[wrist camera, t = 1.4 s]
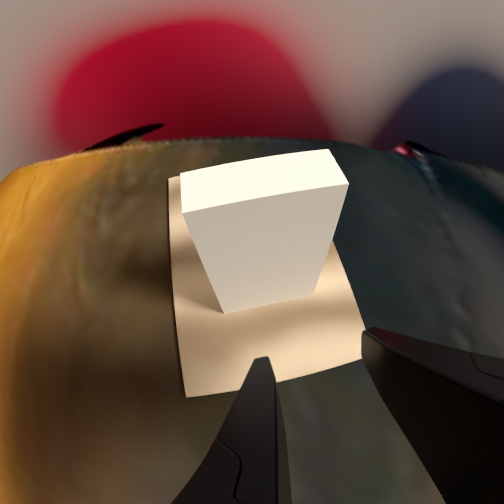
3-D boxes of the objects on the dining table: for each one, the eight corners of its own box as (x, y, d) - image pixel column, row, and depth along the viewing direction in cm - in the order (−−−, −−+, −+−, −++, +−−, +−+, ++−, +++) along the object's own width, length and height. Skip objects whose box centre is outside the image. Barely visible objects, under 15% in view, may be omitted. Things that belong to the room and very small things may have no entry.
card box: (313, 294, 22) (348, 183, 11) (224, 313, 21) (182, 213, 11) (304, 267, 23) (327, 148, 13) (219, 285, 22) (179, 172, 12)
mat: (371, 355, 19) (373, 354, 19) (187, 397, 18) (186, 397, 18) (293, 157, 30) (293, 155, 30) (169, 181, 30) (168, 178, 29)
